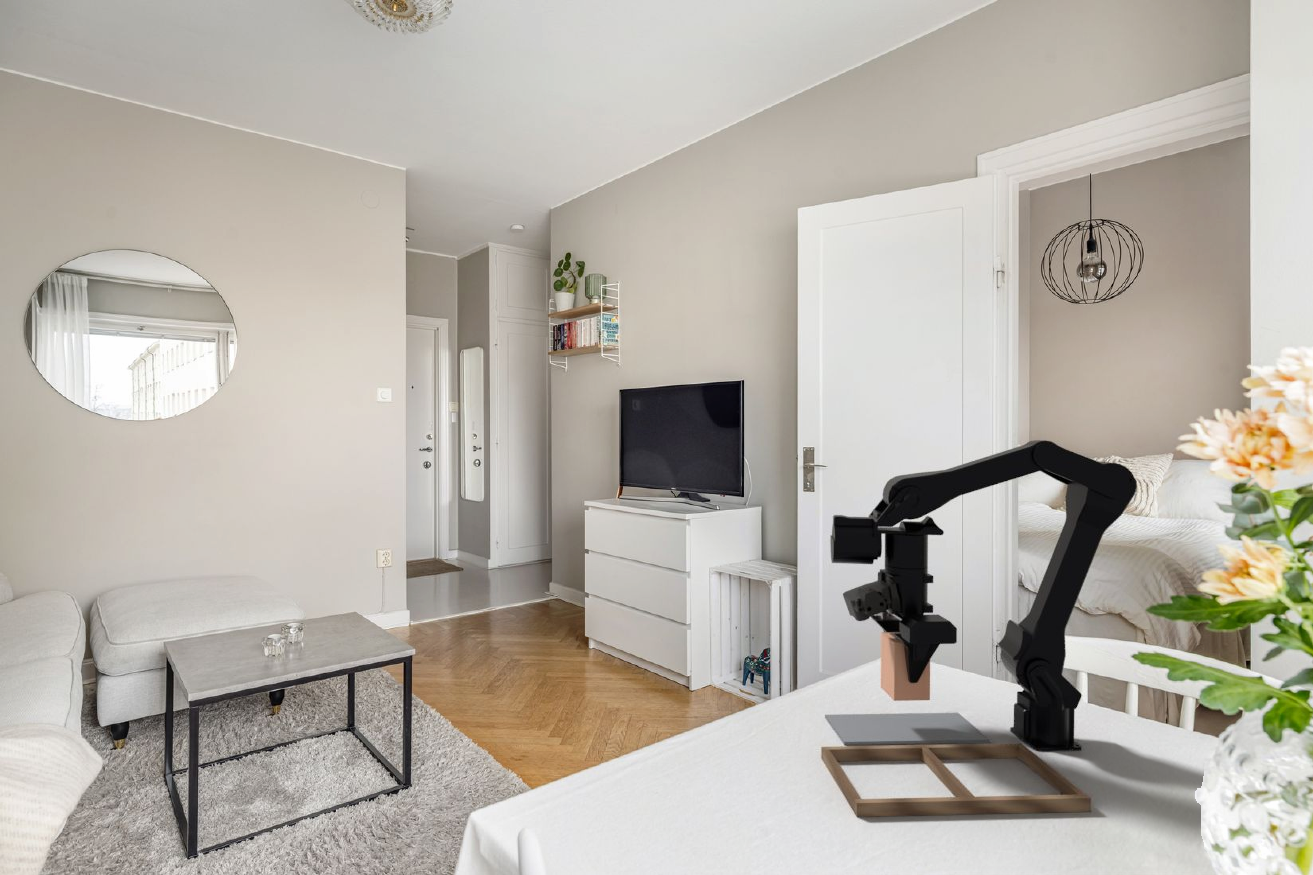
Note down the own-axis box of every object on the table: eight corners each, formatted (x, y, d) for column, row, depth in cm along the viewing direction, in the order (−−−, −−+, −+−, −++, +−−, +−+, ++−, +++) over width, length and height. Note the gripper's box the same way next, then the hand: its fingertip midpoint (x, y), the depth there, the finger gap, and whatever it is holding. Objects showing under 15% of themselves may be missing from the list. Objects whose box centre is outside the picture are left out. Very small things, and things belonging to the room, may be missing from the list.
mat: (958, 715, 104) (958, 712, 104) (989, 742, 95) (989, 739, 95) (824, 717, 103) (824, 714, 103) (844, 744, 94) (844, 741, 94)
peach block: (914, 686, 102) (915, 630, 102) (929, 700, 97) (930, 641, 97) (880, 687, 101) (881, 631, 101) (894, 700, 97) (894, 641, 96)
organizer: (1021, 754, 92) (1021, 743, 92) (1090, 811, 78) (1090, 797, 78) (821, 758, 90) (821, 746, 90) (856, 816, 77) (856, 802, 77)
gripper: (829, 554, 108) (829, 655, 108) (873, 580, 89) (872, 702, 89) (901, 553, 108) (900, 654, 109) (959, 579, 90) (958, 700, 90)
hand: (905, 675), depth 99 cm, fingers closed on peach block, 5 cm apart
